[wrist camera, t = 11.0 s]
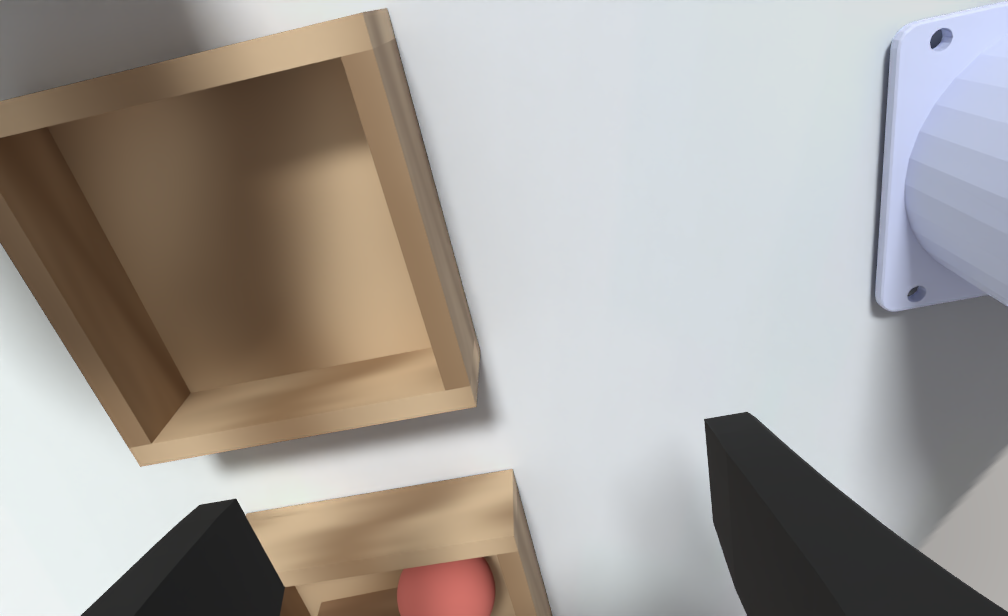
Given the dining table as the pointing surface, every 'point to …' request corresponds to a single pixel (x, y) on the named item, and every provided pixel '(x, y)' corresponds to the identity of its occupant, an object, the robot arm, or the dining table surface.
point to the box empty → (242, 242)
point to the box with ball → (403, 542)
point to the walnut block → (363, 605)
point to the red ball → (447, 589)
